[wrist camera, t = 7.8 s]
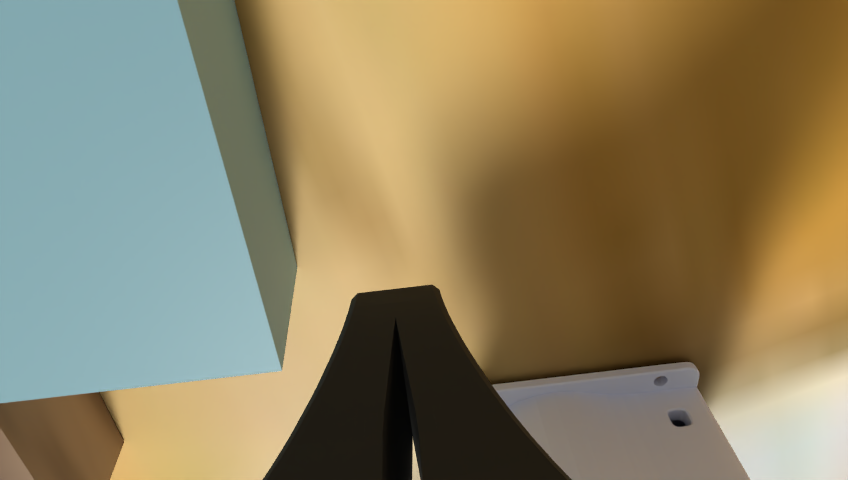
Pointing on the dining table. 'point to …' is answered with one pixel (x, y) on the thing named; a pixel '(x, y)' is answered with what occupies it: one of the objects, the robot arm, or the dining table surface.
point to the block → (135, 200)
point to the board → (58, 439)
